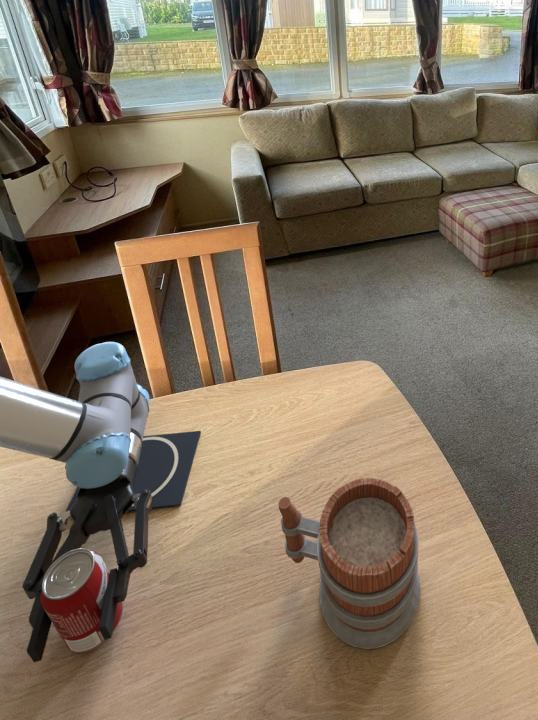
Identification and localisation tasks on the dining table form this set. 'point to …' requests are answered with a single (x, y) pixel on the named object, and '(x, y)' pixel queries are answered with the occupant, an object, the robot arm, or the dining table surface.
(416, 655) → the dining table surface
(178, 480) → the mat
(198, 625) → the dining table surface
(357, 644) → the mug
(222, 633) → the dining table surface
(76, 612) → the soda can
